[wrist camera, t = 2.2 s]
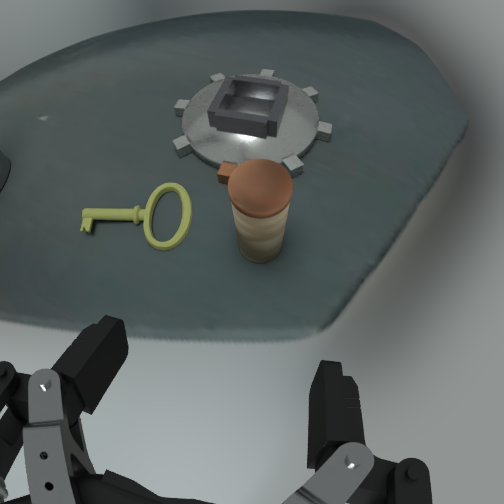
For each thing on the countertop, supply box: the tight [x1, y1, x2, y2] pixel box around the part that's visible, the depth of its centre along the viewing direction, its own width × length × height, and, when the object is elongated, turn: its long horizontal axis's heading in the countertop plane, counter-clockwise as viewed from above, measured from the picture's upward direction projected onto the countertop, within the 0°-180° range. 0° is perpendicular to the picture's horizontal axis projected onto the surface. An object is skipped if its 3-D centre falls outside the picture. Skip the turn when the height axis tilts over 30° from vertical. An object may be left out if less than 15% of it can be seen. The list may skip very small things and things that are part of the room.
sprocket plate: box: [173, 69, 332, 184], centre depth 32 cm, size 19×19×4 cm
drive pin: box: [228, 159, 293, 264], centre depth 23 cm, size 4×4×10 cm
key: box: [80, 183, 192, 251], centre depth 28 cm, size 7×12×2 cm, turn 107°
